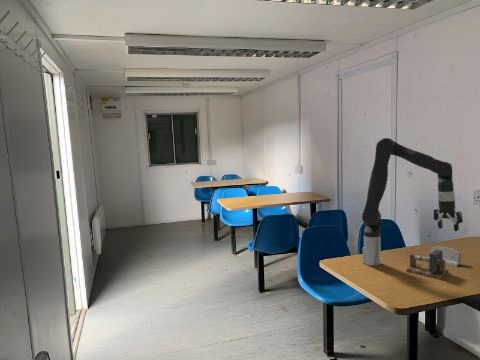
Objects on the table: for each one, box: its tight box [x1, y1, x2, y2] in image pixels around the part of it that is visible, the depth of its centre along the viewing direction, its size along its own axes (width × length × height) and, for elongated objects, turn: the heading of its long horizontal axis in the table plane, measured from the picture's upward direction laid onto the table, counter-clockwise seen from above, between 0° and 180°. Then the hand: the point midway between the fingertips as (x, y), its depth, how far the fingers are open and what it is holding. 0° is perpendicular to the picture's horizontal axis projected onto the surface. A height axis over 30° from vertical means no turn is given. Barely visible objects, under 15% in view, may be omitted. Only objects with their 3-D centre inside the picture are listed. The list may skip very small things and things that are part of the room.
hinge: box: [428, 245, 462, 268], centre depth 201 cm, size 17×5×10 cm, turn 36°
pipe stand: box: [406, 253, 449, 280], centre depth 187 cm, size 17×12×8 cm
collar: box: [428, 250, 442, 274], centre depth 184 cm, size 3×10×10 cm, turn 131°
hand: (448, 229), depth 182 cm, fingers open, 8 cm apart
